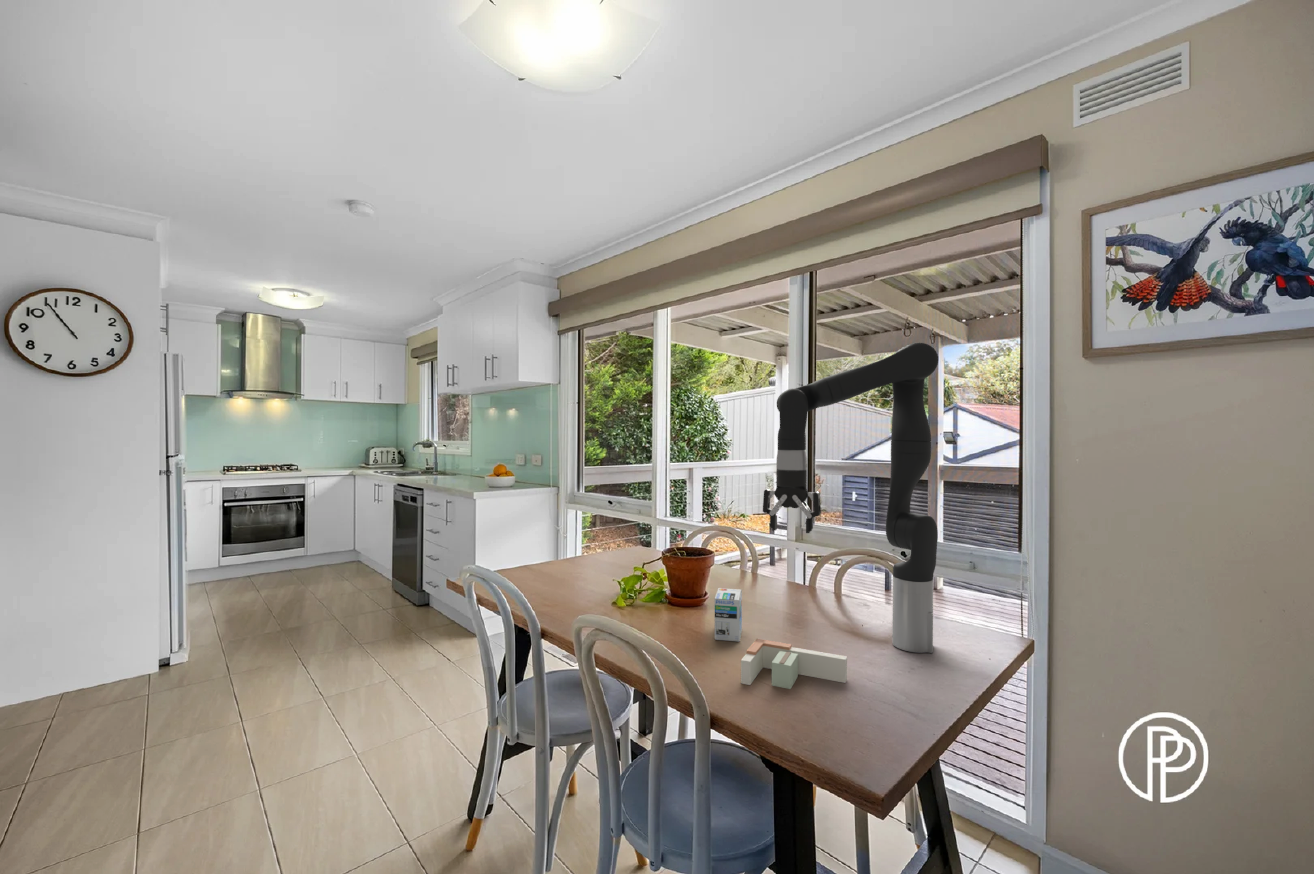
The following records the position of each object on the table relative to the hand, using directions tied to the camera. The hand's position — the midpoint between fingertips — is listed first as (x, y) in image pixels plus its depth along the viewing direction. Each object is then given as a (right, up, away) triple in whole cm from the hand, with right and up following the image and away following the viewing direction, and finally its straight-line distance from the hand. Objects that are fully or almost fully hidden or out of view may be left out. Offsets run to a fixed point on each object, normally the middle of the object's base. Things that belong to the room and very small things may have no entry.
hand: (791, 531), depth 145 cm
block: (-7, -29, -23) cm, 37 cm away
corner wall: (-5, -28, -23) cm, 37 cm away
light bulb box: (-15, -28, +6) cm, 33 cm away
